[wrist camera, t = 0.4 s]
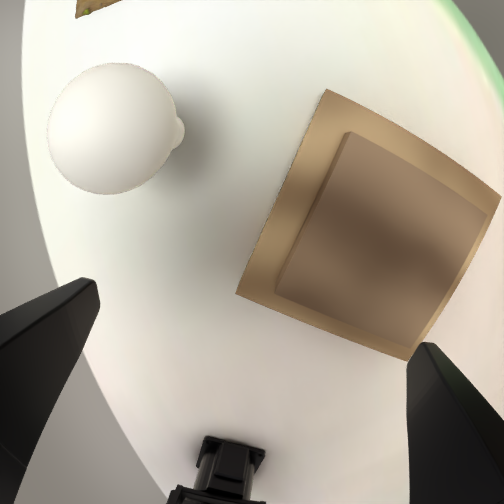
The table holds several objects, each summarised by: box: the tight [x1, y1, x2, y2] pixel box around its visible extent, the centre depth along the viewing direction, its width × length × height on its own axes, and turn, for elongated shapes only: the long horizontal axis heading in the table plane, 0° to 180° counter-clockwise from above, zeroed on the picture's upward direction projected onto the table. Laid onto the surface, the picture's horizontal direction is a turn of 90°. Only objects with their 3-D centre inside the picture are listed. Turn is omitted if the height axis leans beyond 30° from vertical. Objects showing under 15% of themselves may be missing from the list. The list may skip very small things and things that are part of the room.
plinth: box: [235, 89, 501, 361], centre depth 19 cm, size 14×14×4 cm
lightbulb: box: [47, 63, 185, 195], centre depth 15 cm, size 6×6×11 cm
